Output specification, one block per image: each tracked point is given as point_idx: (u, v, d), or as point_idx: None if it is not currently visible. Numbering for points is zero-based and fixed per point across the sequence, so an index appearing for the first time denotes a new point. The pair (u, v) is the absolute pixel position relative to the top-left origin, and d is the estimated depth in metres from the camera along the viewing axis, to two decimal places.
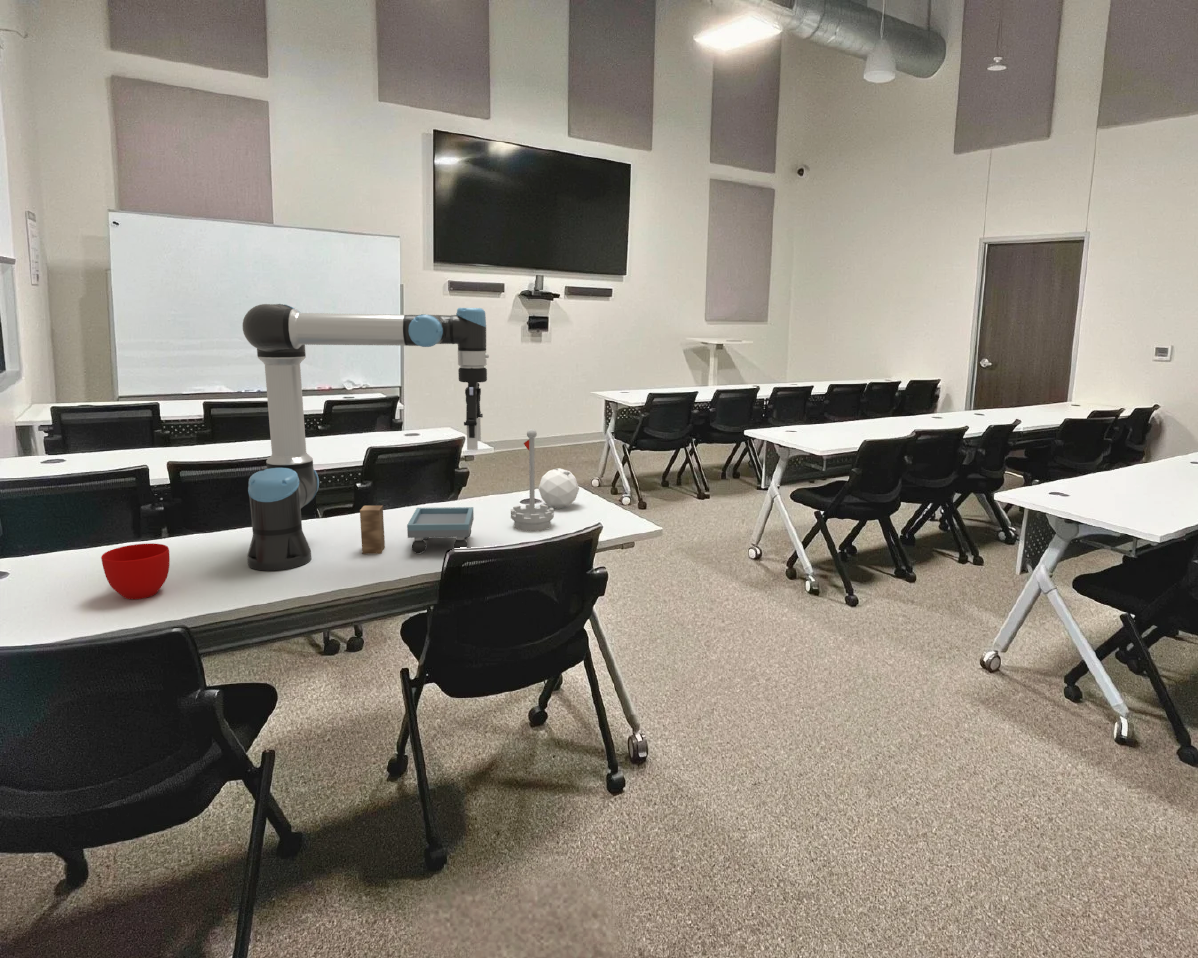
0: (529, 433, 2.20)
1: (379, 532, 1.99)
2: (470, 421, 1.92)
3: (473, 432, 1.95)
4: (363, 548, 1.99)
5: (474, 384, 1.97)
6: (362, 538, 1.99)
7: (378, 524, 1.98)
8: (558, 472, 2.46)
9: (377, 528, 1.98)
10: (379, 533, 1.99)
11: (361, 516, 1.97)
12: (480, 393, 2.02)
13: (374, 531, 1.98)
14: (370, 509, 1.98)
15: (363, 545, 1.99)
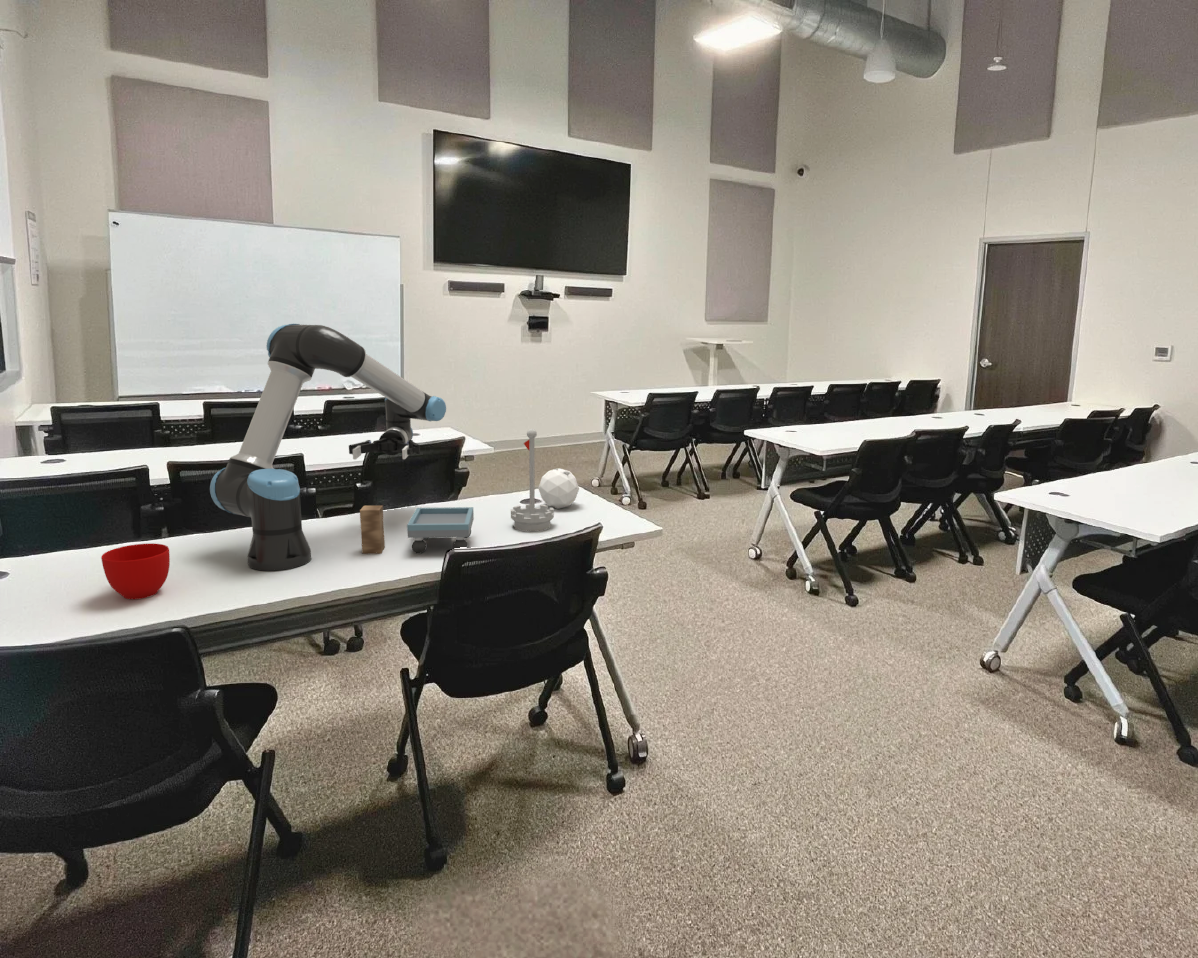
0: (529, 433, 2.20)
1: (379, 532, 1.99)
2: (419, 448, 2.17)
3: (411, 452, 2.14)
4: (363, 548, 1.99)
5: None
6: (362, 538, 1.99)
7: (378, 524, 1.98)
8: (558, 472, 2.46)
9: (377, 528, 1.98)
10: (379, 533, 1.99)
11: (361, 516, 1.97)
12: (385, 451, 2.23)
13: (374, 531, 1.98)
14: (370, 509, 1.98)
15: (363, 545, 1.99)
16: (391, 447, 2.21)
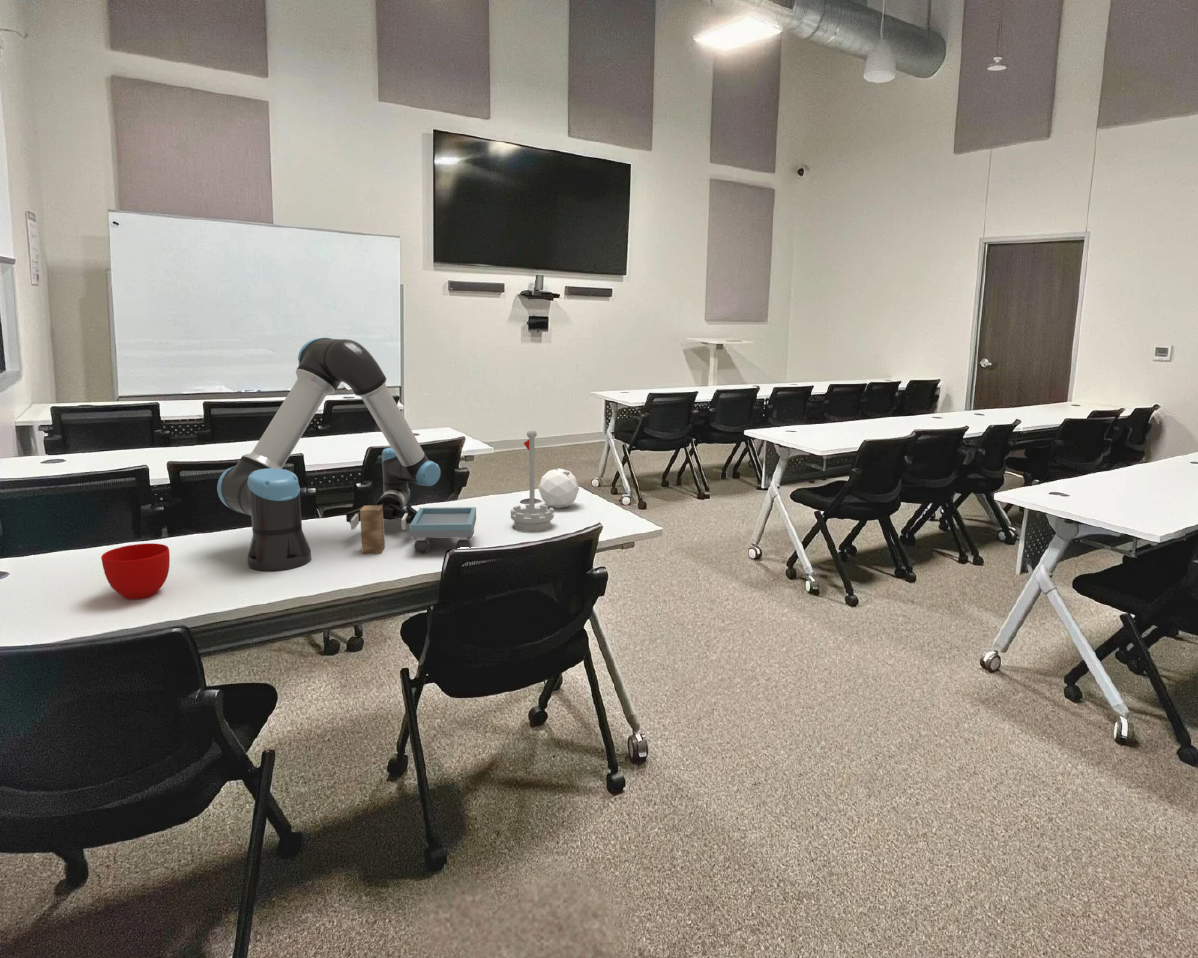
0: (529, 433, 2.20)
1: (379, 532, 1.99)
2: None
3: (411, 521, 2.10)
4: (363, 548, 1.99)
5: None
6: (362, 538, 1.99)
7: (378, 524, 1.98)
8: (558, 472, 2.46)
9: (377, 528, 1.98)
10: (379, 533, 1.99)
11: (361, 516, 1.97)
12: (383, 517, 2.18)
13: (374, 531, 1.98)
14: (370, 509, 1.98)
15: (363, 545, 1.99)
16: (390, 513, 2.16)
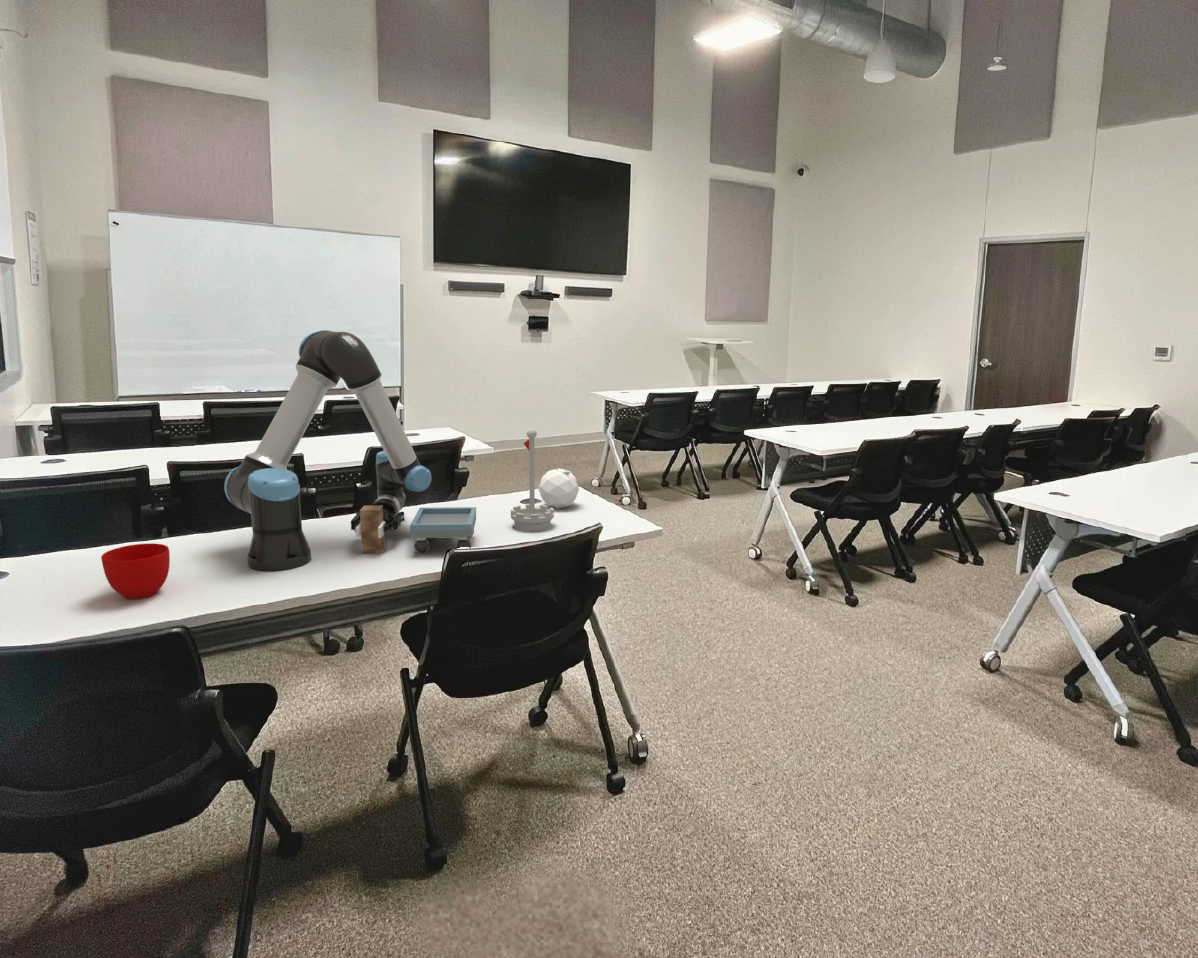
0: (529, 433, 2.20)
1: None
2: (397, 524, 2.04)
3: (388, 529, 2.01)
4: (363, 548, 1.99)
5: None
6: (362, 538, 1.99)
7: (378, 524, 1.98)
8: (558, 472, 2.46)
9: (377, 528, 1.98)
10: None
11: (361, 516, 1.97)
12: None
13: (374, 531, 1.98)
14: (370, 509, 1.98)
15: (363, 545, 1.99)
16: (383, 519, 2.09)
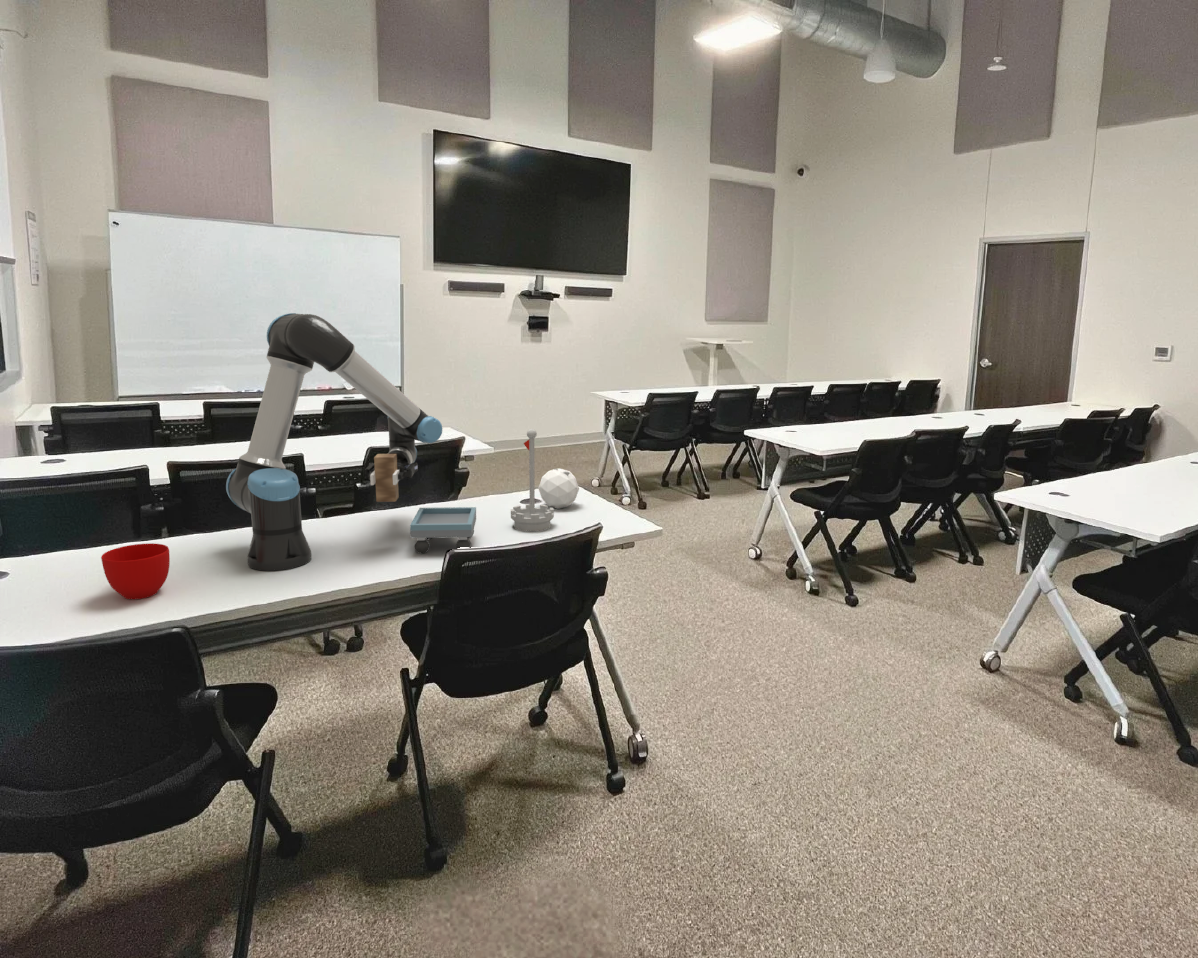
0: (529, 433, 2.20)
1: None
2: (411, 473, 2.02)
3: (402, 477, 2.00)
4: (377, 496, 1.98)
5: None
6: (376, 486, 1.97)
7: (392, 471, 1.97)
8: (558, 472, 2.46)
9: (391, 476, 1.97)
10: None
11: (375, 463, 1.96)
12: None
13: (388, 479, 1.97)
14: (384, 456, 1.97)
15: (377, 493, 1.98)
16: None
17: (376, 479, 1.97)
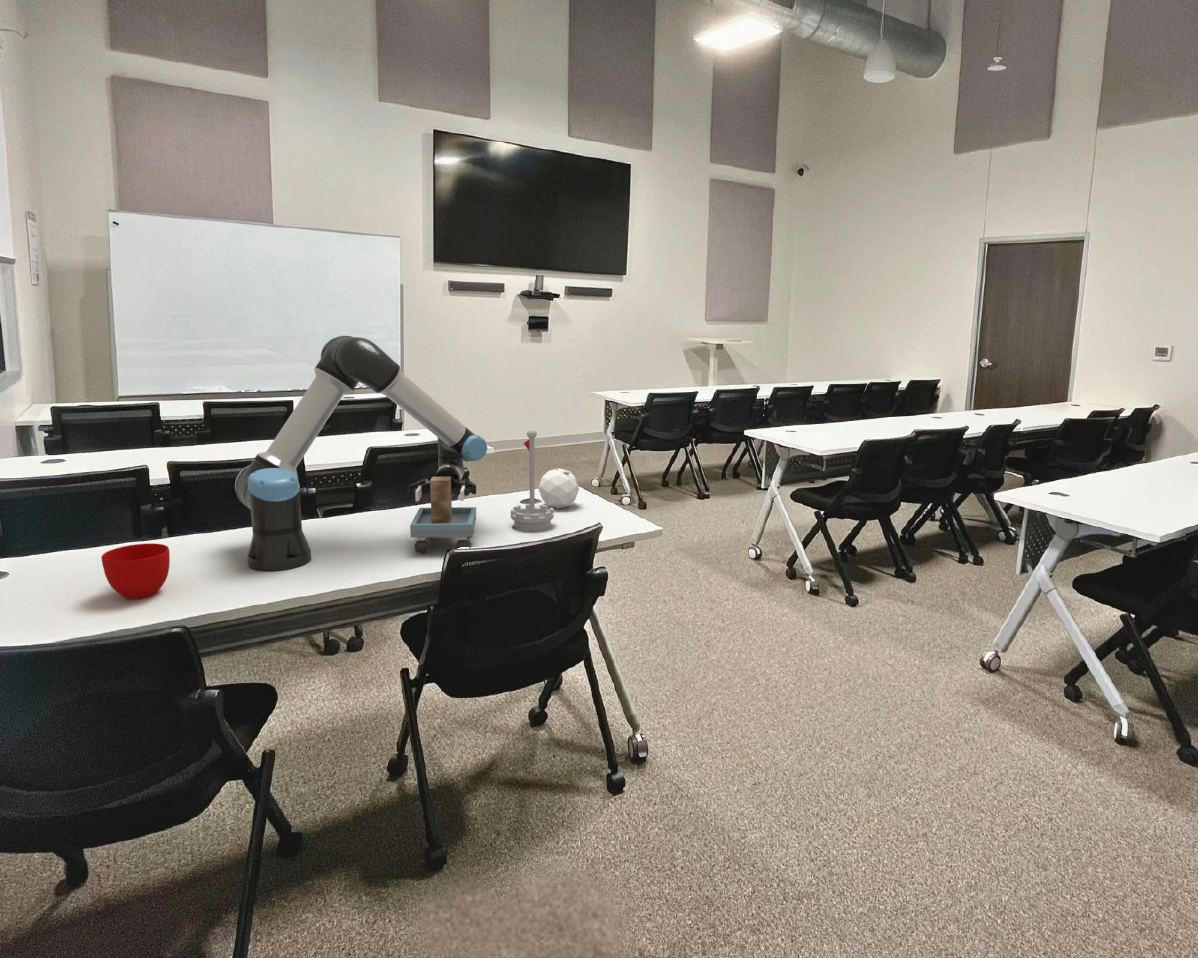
0: (529, 433, 2.20)
1: (448, 502, 2.03)
2: (475, 488, 2.09)
3: (468, 493, 2.06)
4: (432, 518, 2.03)
5: None
6: (432, 508, 2.03)
7: (447, 494, 2.02)
8: (558, 472, 2.46)
9: (446, 498, 2.02)
10: (448, 503, 2.03)
11: (431, 486, 2.01)
12: None
13: (443, 501, 2.03)
14: (440, 479, 2.02)
15: (433, 515, 2.03)
16: None
17: (432, 501, 2.02)
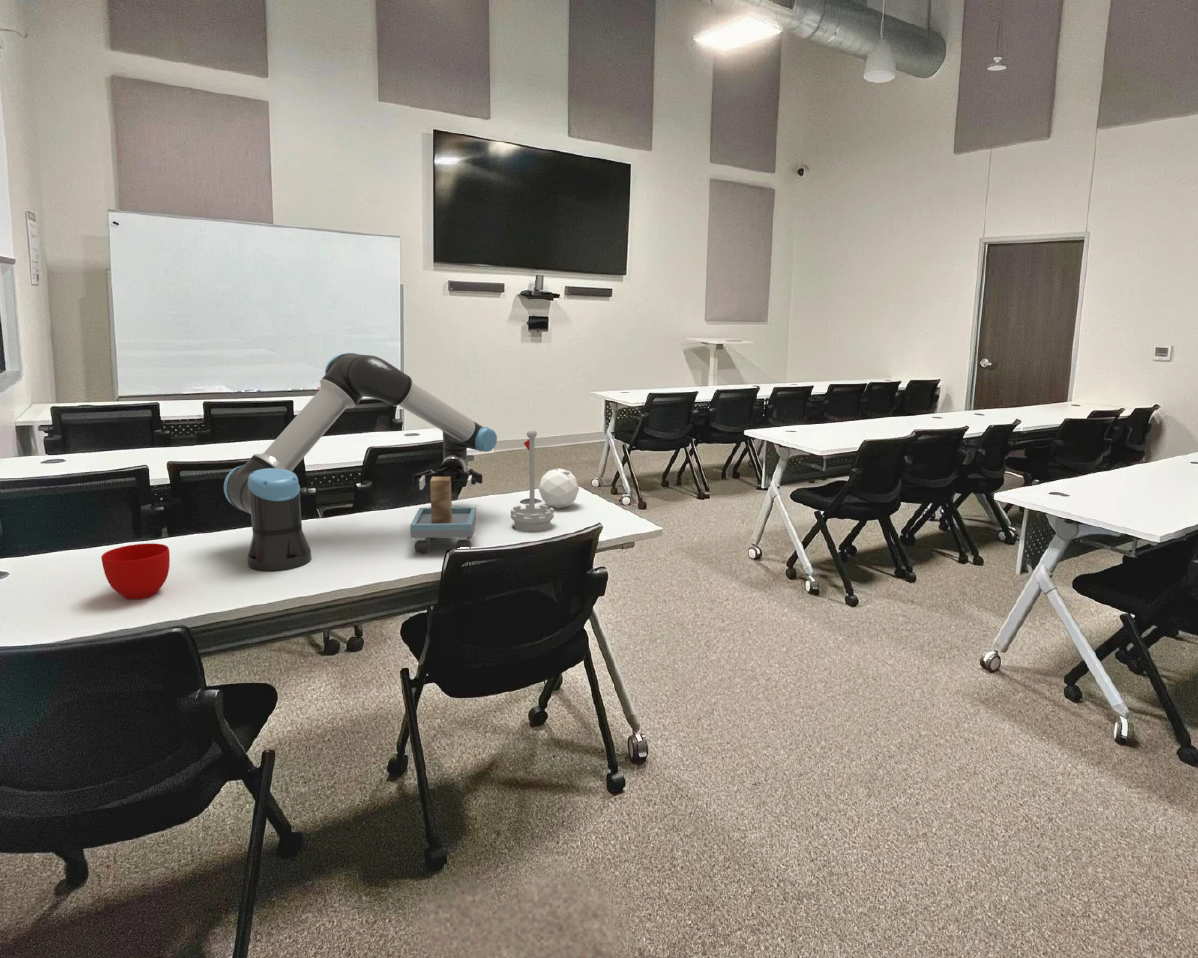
0: (529, 433, 2.20)
1: (448, 502, 2.03)
2: None
3: None
4: (432, 518, 2.03)
5: None
6: (432, 508, 2.03)
7: (447, 494, 2.02)
8: (558, 472, 2.46)
9: (446, 498, 2.02)
10: (448, 503, 2.03)
11: (431, 486, 2.01)
12: None
13: (443, 501, 2.03)
14: (440, 479, 2.02)
15: (433, 515, 2.03)
16: (453, 476, 2.25)
17: (432, 501, 2.02)
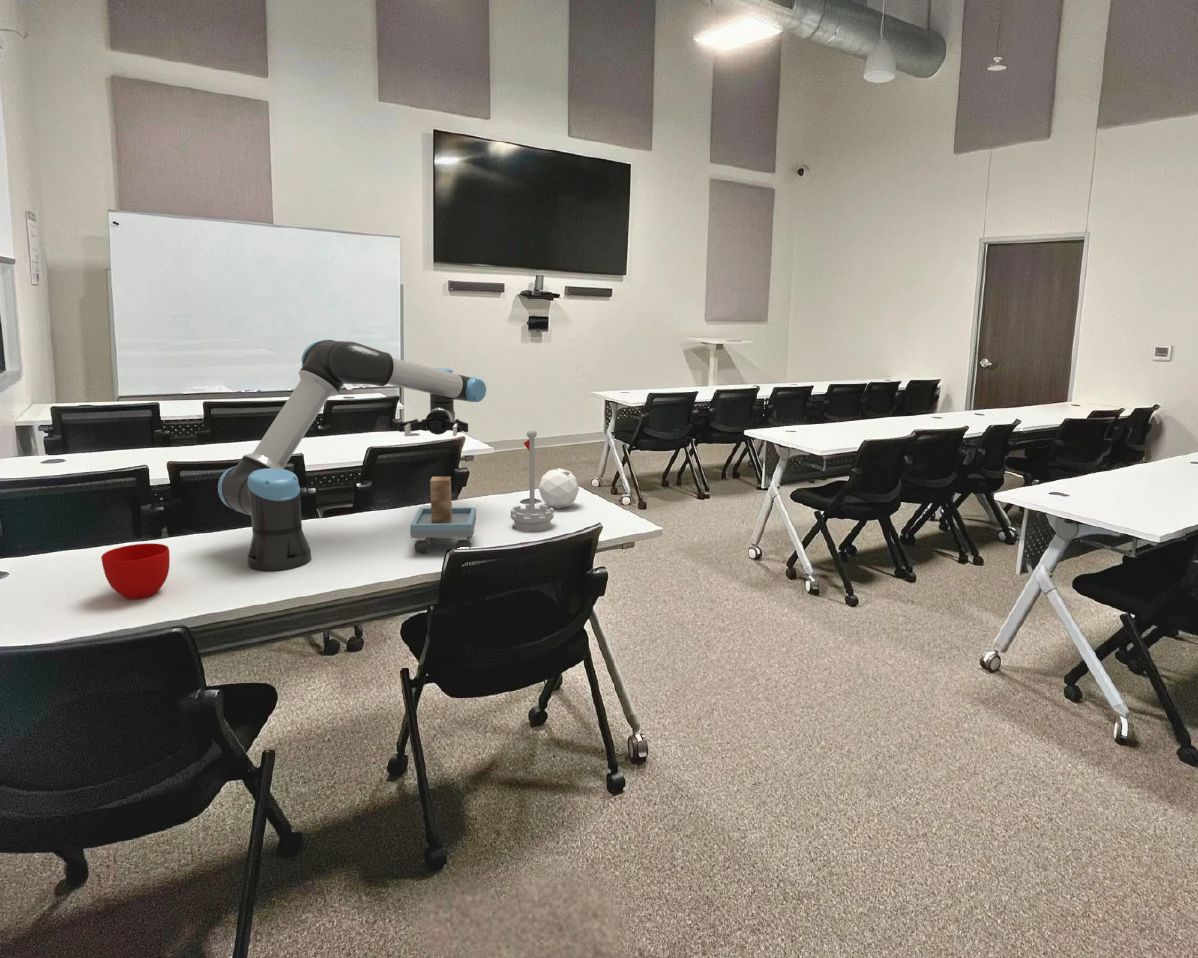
0: (529, 433, 2.20)
1: (448, 502, 2.03)
2: None
3: (461, 430, 2.19)
4: (432, 518, 2.03)
5: None
6: (432, 508, 2.03)
7: (447, 494, 2.02)
8: (558, 472, 2.46)
9: (446, 498, 2.02)
10: (448, 503, 2.03)
11: (431, 486, 2.01)
12: (432, 430, 2.27)
13: (443, 501, 2.03)
14: (440, 479, 2.02)
15: (433, 515, 2.03)
16: (439, 425, 2.25)
17: (432, 501, 2.02)
